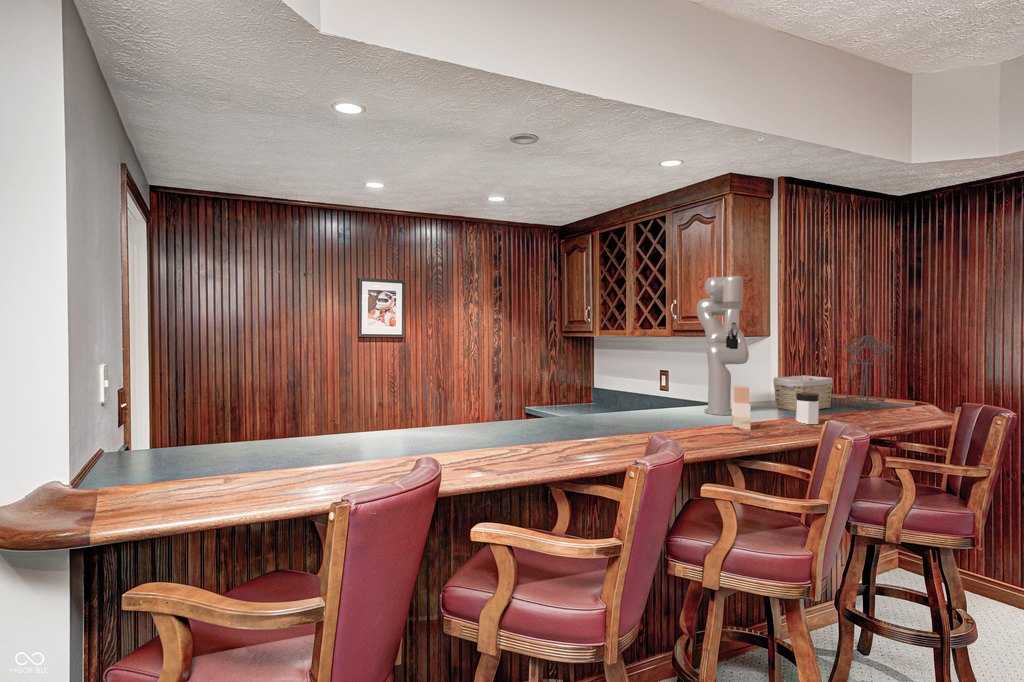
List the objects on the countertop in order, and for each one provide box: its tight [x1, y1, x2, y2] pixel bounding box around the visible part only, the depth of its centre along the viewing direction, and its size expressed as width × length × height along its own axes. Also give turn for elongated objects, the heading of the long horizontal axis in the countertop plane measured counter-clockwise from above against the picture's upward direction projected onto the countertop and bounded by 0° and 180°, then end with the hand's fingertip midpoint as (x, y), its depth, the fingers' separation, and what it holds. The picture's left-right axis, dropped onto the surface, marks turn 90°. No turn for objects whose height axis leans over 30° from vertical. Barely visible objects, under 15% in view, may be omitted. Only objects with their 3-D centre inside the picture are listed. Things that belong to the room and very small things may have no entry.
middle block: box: [731, 400, 752, 417], centre depth 223 cm, size 6×6×5 cm
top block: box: [732, 385, 750, 404], centre depth 223 cm, size 5×5×6 cm
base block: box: [731, 415, 752, 430], centre depth 223 cm, size 6×6×5 cm
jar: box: [795, 393, 820, 425], centre depth 235 cm, size 9×8×12 cm
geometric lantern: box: [843, 334, 893, 410], centre depth 274 cm, size 16×16×35 cm
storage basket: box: [773, 375, 834, 411], centre depth 275 cm, size 24×16×15 cm
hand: (731, 348), depth 236 cm, fingers open, 9 cm apart
